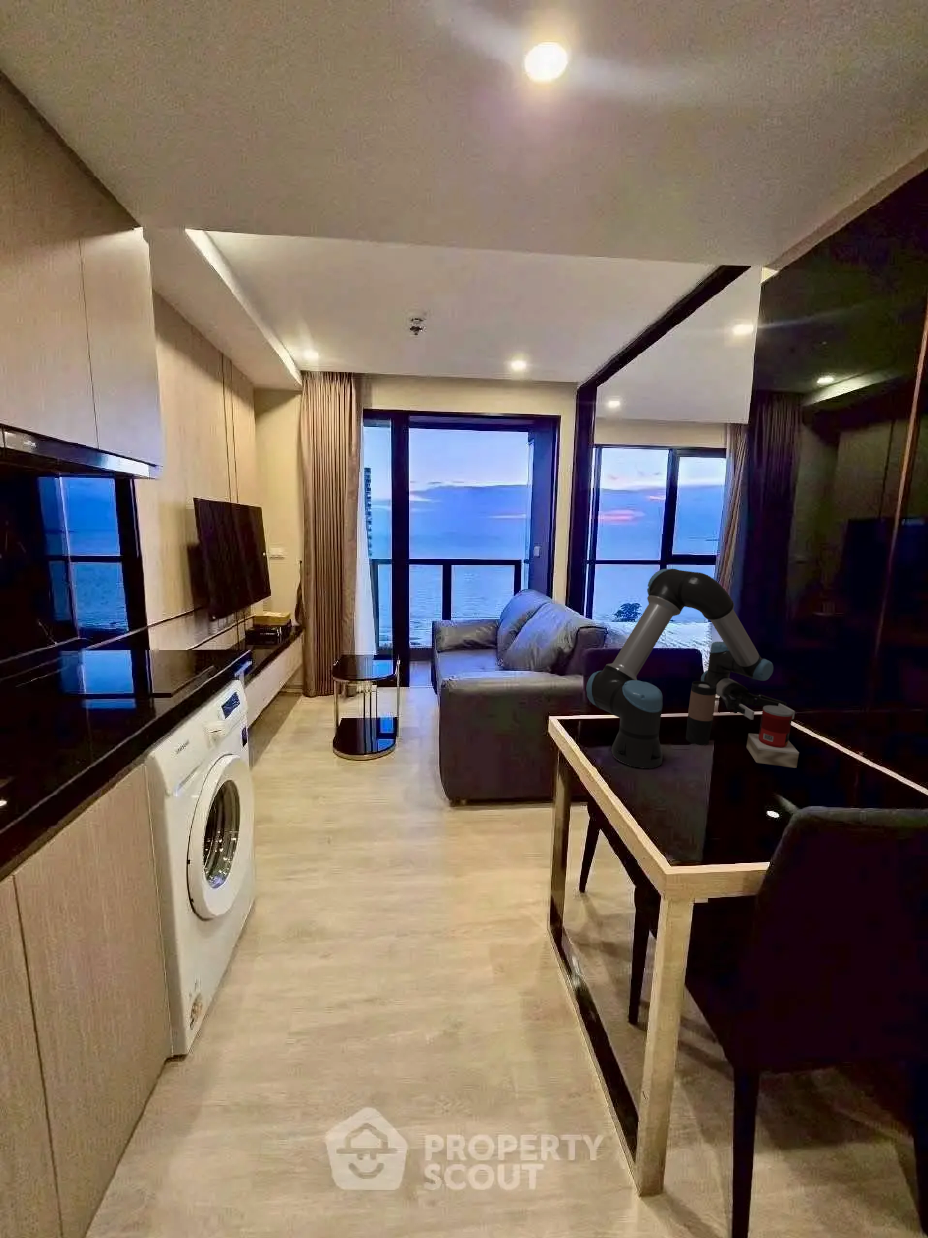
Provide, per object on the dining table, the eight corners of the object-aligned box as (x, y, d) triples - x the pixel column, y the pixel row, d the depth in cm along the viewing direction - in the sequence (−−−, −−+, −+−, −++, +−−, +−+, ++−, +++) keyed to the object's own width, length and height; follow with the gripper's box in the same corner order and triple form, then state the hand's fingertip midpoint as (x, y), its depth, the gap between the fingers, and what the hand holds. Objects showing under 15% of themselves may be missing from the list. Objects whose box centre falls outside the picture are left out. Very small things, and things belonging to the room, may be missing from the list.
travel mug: (685, 743, 168) (692, 686, 164) (684, 734, 175) (691, 679, 171) (710, 747, 165) (718, 689, 161) (708, 738, 172) (716, 682, 168)
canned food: (791, 749, 154) (797, 715, 151) (762, 746, 155) (768, 713, 153) (781, 738, 161) (787, 706, 159) (754, 735, 163) (759, 704, 160)
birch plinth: (756, 762, 155) (758, 747, 154) (746, 747, 166) (748, 733, 165) (796, 767, 152) (799, 752, 151) (783, 751, 163) (786, 737, 162)
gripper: (764, 701, 181) (808, 726, 160) (698, 702, 179) (734, 727, 158) (767, 681, 179) (811, 703, 159) (700, 682, 177) (737, 704, 157)
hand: (773, 715), depth 158 cm, fingers open, 13 cm apart
